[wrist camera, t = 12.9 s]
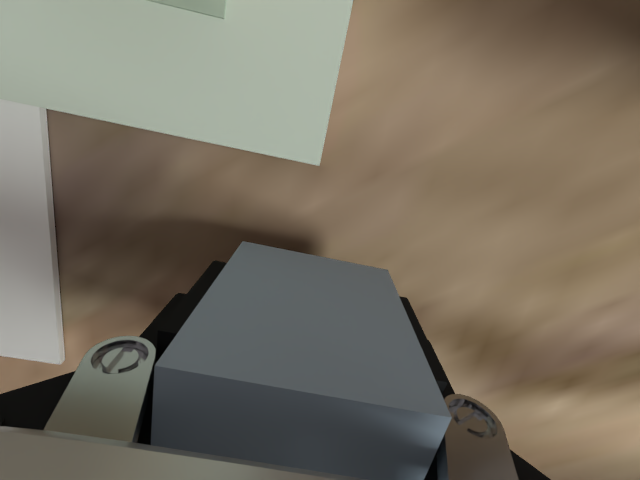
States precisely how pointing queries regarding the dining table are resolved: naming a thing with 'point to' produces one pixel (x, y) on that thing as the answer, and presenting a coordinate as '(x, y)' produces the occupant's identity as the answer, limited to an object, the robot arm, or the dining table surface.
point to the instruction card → (28, 239)
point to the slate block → (301, 371)
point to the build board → (182, 66)
